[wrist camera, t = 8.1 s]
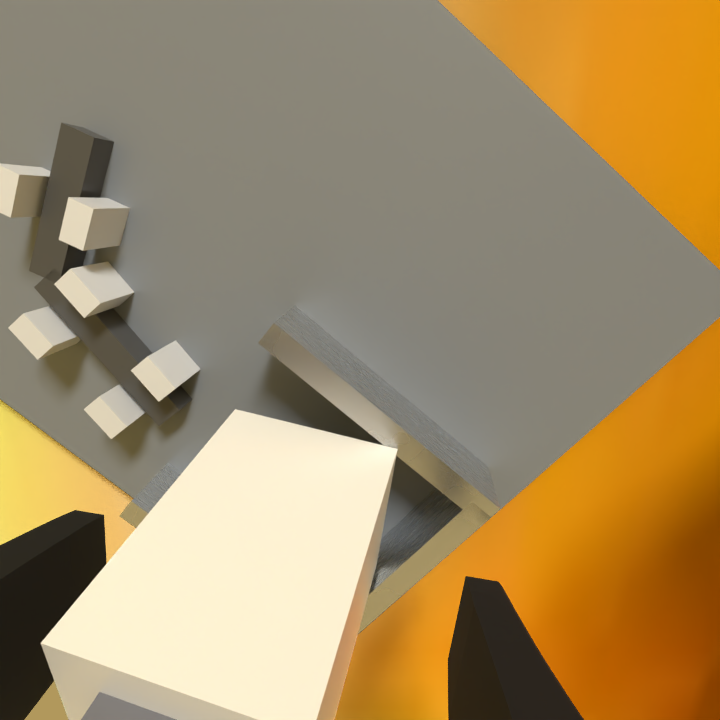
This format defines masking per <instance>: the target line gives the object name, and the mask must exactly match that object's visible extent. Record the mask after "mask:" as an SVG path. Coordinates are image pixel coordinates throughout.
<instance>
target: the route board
mask: <svg viewBox="0 0 720 720" xmlns="http://www.w3.org/2000/svg"><path fill="white" fill-rule="evenodd" d="M294 305H295V306H296V307H297V308H299V309H300V310H301V311H302V312H303V313H305V314H306V315H307V316H308V317H309V318H311V319H312V320H313V321H314V322H315V323H317V324H318V325H319V326H320V327H321V328H323V329H324V330H325V331H326V332H327V333H329V334H330V335H331V336H332V337H333V338H335V339H336V340H337V341H338V342H339V343H341V344H342V345H343V346H344V347H345V348H347V349H348V350H349V351H350V352H351V353H353V354H354V355H355V356H356V357H357V358H359V359H360V360H361V361H362V362H363V363H365V364H366V365H367V366H368V367H369V368H371V369H372V370H373V371H374V372H375V373H377V374H378V375H379V376H380V377H381V378H383V379H384V380H385V381H386V382H387V383H389V384H390V385H391V386H392V387H393V388H395V389H396V390H397V391H398V392H399V393H401V394H402V395H403V396H404V397H405V398H407V399H408V400H409V401H410V402H411V403H413V404H414V405H415V406H416V407H417V408H419V409H420V410H421V411H422V412H423V413H425V414H426V415H427V416H428V417H429V418H431V419H432V420H433V421H434V422H436V423H437V424H438V425H439V426H440V427H442V428H443V429H444V430H445V431H446V432H448V433H449V434H450V435H451V436H452V437H454V438H455V439H456V440H457V441H458V442H460V443H461V444H462V445H463V446H464V447H466V448H467V449H468V450H469V451H470V452H472V453H473V454H474V455H475V456H476V457H478V458H479V459H480V460H481V461H482V462H484V463H485V464H486V465H487V466H488V467H489V470H490V474H491V478H492V481H493V485H494V488H495V492H496V496H497V499H498V503H499V507H500V509H501V508H503V507H504V506H505V505H506V504H507V503H508V502H509V501H511V500H512V499H513V498H514V497H515V496H516V495H517V494H518V493H520V492H521V491H522V490H523V489H524V488H525V487H526V486H528V485H529V484H530V483H531V482H532V481H533V480H534V479H536V478H537V477H538V476H539V475H540V474H541V473H542V472H544V471H545V470H546V469H547V468H548V467H549V466H550V465H552V464H553V463H554V462H555V461H556V460H557V459H558V458H560V457H561V456H562V455H563V454H564V453H565V452H566V451H567V450H569V449H570V448H571V447H572V446H573V445H574V444H575V443H577V442H578V441H579V440H580V439H581V438H582V437H583V436H585V435H586V434H587V433H588V432H589V431H590V430H591V429H593V428H594V427H595V426H596V425H597V424H598V423H599V422H601V421H602V420H603V419H604V418H605V417H606V416H607V415H609V414H610V413H611V412H612V411H613V410H614V409H615V408H616V407H618V406H619V405H620V404H621V403H622V402H623V401H624V400H626V399H627V398H628V397H629V396H630V395H631V394H632V393H634V392H635V391H636V390H637V389H638V388H639V387H640V386H642V385H643V384H644V383H645V382H646V381H647V380H648V379H650V378H651V377H652V376H653V375H654V374H655V373H656V372H658V371H659V370H660V369H661V368H662V367H663V366H664V365H665V364H667V363H668V362H669V361H670V360H671V359H672V358H673V357H675V356H676V355H677V354H678V353H679V352H680V351H681V350H683V349H684V348H685V347H686V346H687V345H688V344H689V343H691V342H692V341H693V340H694V339H695V338H696V337H697V336H699V335H700V334H701V333H702V332H703V331H704V330H705V329H707V328H708V327H709V326H710V325H711V324H712V323H713V322H714V321H716V320H717V319H718V318H719V317H720V270H719V269H718V268H717V267H716V266H715V265H713V264H712V263H711V262H710V261H709V260H708V259H707V258H706V257H705V256H704V255H703V254H702V253H701V252H700V251H699V250H698V249H697V248H696V247H695V246H694V245H693V244H692V243H691V242H689V241H688V240H687V239H686V238H685V237H684V236H683V235H682V234H681V233H680V232H679V231H678V230H677V229H676V228H675V227H674V226H673V225H672V224H671V223H670V222H669V221H668V220H666V219H665V218H664V217H663V216H662V215H661V214H660V213H659V212H658V211H657V210H656V209H655V208H654V207H653V206H652V205H651V204H650V203H649V202H648V201H647V200H646V199H645V198H644V197H642V196H641V195H640V194H639V193H638V192H637V191H636V190H635V189H634V188H633V187H632V186H631V185H630V184H629V183H628V182H627V181H626V180H625V179H624V178H623V177H622V176H621V175H619V174H618V173H617V172H616V171H615V170H614V169H613V168H612V167H611V166H610V165H609V164H608V163H607V162H606V161H605V160H604V159H603V158H602V157H601V156H600V155H599V154H598V153H597V152H595V151H594V150H593V149H592V148H591V147H590V146H589V145H588V144H587V143H586V142H585V141H584V140H583V139H582V138H581V137H580V136H579V135H578V134H577V133H576V132H575V131H574V130H572V129H571V128H570V127H569V126H568V125H567V124H566V123H565V122H564V121H563V120H562V119H561V118H560V117H559V116H558V115H557V114H556V113H555V112H554V111H553V110H552V109H551V108H550V107H548V106H547V105H546V104H545V103H544V102H543V101H542V100H541V99H540V98H539V97H538V96H537V95H536V94H535V93H534V92H533V91H532V90H531V89H530V88H529V87H528V86H527V85H525V84H524V83H523V82H522V81H521V80H520V79H519V78H518V77H517V76H516V75H515V74H514V73H513V72H512V71H511V70H510V69H509V68H508V67H507V66H506V65H505V64H504V63H503V62H501V61H500V60H499V59H498V58H497V57H496V56H495V55H494V54H493V53H492V52H491V51H490V50H489V49H488V48H487V47H486V46H485V45H484V44H483V43H482V42H481V41H480V40H478V39H477V38H476V37H475V36H474V35H473V34H472V33H471V32H470V31H469V30H468V29H467V28H466V27H465V26H464V25H463V24H462V23H461V22H460V21H459V20H458V19H457V18H455V17H454V16H453V15H452V14H451V13H450V12H449V11H448V10H447V9H446V8H445V7H444V6H443V5H442V4H441V3H440V2H439V1H438V0H0V399H1V400H2V401H3V402H5V403H6V404H7V405H9V406H10V407H11V408H13V409H14V410H15V411H17V412H18V413H20V414H21V415H22V416H24V417H25V418H26V419H28V420H29V421H30V422H32V423H33V424H34V425H36V426H37V427H38V428H40V429H41V430H42V431H44V432H45V433H46V434H48V435H49V436H50V437H52V438H53V439H54V440H56V441H57V442H59V443H60V444H61V445H63V446H64V447H65V448H67V449H68V450H69V451H71V452H72V453H73V454H75V455H76V456H77V457H79V458H80V459H81V460H83V461H84V462H85V463H87V464H88V465H89V466H91V467H92V468H93V469H95V470H96V471H98V472H99V473H100V474H102V475H103V476H104V477H106V478H107V479H108V480H110V481H111V482H112V483H114V484H115V485H116V486H118V487H119V488H120V489H122V490H123V491H124V492H126V493H127V494H128V495H130V496H131V497H132V498H135V497H136V496H137V495H138V494H139V493H140V492H141V490H142V489H143V488H144V487H145V486H146V485H147V484H148V483H149V482H150V481H151V480H152V479H153V478H154V477H155V476H156V475H157V474H158V473H159V472H160V471H161V470H162V468H163V467H164V466H165V465H166V464H167V463H169V464H171V465H172V466H173V467H175V468H176V469H177V470H178V471H180V472H181V473H183V471H184V470H185V469H186V468H187V466H188V465H189V464H190V463H191V462H192V460H193V459H194V458H195V457H196V456H197V454H198V453H199V452H200V451H201V450H202V448H203V447H204V446H205V445H206V444H207V442H208V441H209V440H210V439H211V438H212V436H213V435H214V434H215V433H216V432H217V430H218V429H219V428H220V427H221V426H222V424H223V423H224V422H225V421H226V420H227V418H228V417H229V416H230V415H231V414H232V412H233V411H234V410H235V409H237V410H241V411H245V412H249V413H253V414H257V415H261V416H265V417H269V418H274V419H278V420H282V421H286V422H290V423H294V424H298V425H302V426H306V427H310V428H314V429H318V430H322V431H326V432H330V433H334V434H339V435H343V436H347V437H351V438H355V439H359V440H363V441H367V442H371V443H375V444H379V445H383V444H382V443H380V442H379V441H378V440H377V439H375V438H374V437H373V436H372V435H370V434H369V433H368V432H367V431H366V430H364V429H363V428H362V427H361V426H359V425H358V424H357V423H356V422H354V421H353V420H352V419H351V418H350V417H348V416H347V415H346V414H345V413H343V412H342V411H341V410H340V409H338V408H337V407H336V406H335V405H334V404H332V403H331V402H330V401H329V400H327V399H326V398H325V397H324V396H322V395H321V394H320V393H319V392H318V391H316V390H315V389H314V388H313V387H311V386H310V385H309V384H308V383H306V382H305V381H304V380H303V379H302V378H300V377H299V376H298V375H297V374H295V373H294V372H293V371H292V370H291V369H289V368H288V367H287V366H286V365H284V364H283V363H282V362H281V361H279V360H278V359H277V358H276V357H275V356H273V355H272V354H271V353H270V352H268V351H267V350H266V349H265V348H263V347H262V346H261V345H260V344H259V343H258V342H259V341H260V340H261V338H262V337H263V336H264V335H265V333H266V332H267V331H268V330H269V328H270V327H271V326H272V325H273V323H274V322H276V321H277V320H278V319H279V318H280V317H281V316H283V315H284V314H285V313H286V312H287V311H289V310H290V309H291V308H292V307H293V306H294ZM383 446H384V445H383ZM434 488H435V487H434V486H433V485H432V484H431V483H429V482H428V481H427V480H426V479H425V478H423V477H422V476H421V475H420V474H418V473H417V472H416V471H415V470H413V469H412V468H411V467H410V466H409V465H407V464H406V463H405V462H404V461H402V460H401V459H400V458H399V457H398V456H396V461H395V466H394V472H393V477H392V483H391V488H390V494H389V499H388V505H387V510H386V516H385V521H384V527H383V532H382V537H383V536H384V535H385V534H387V533H388V532H389V531H390V530H391V529H392V528H393V527H394V526H395V525H396V524H397V523H398V522H399V521H400V520H401V519H402V518H404V517H405V516H406V515H407V514H408V513H409V512H410V511H411V510H412V509H413V508H414V507H415V506H416V505H417V504H418V503H419V502H420V501H422V500H423V499H424V498H425V497H426V496H427V495H428V494H429V493H430V492H431V491H432V490H433V489H434ZM498 511H499V510H498ZM498 511H497V512H498ZM497 512H496V513H497ZM496 513H495V514H496ZM495 514H494V515H495ZM489 519H490V518H489ZM489 519H488V520H489ZM488 520H487V521H488ZM487 521H486V522H487ZM481 526H482V525H481ZM481 526H480V527H481ZM480 527H479V528H480ZM479 528H478V529H479ZM473 533H474V532H473ZM473 533H472V534H473ZM472 534H471V535H472ZM471 535H470V536H471ZM465 540H466V539H465ZM465 540H464V541H465ZM464 541H463V542H464ZM463 542H462V543H463ZM462 543H461V544H462ZM457 547H458V546H457ZM457 547H456V548H457ZM456 548H455V549H456ZM455 549H454V550H455ZM454 550H453V551H454ZM448 555H449V554H448ZM448 555H447V556H448ZM447 556H446V557H447ZM446 557H445V558H446ZM440 562H441V561H440ZM440 562H439V563H440ZM439 563H438V564H439ZM438 564H437V565H438ZM432 569H433V568H432ZM432 569H431V570H432ZM431 570H430V571H431ZM430 571H429V572H430ZM424 576H425V575H424ZM424 576H423V577H424ZM423 577H422V578H423ZM422 578H421V579H422ZM416 583H417V582H416ZM416 583H415V584H416ZM415 584H414V585H415ZM414 585H413V586H414ZM413 586H412V587H413ZM407 591H408V590H407ZM407 591H406V592H407ZM406 592H405V593H406ZM405 593H404V594H405ZM399 598H400V597H399ZM399 598H398V599H399ZM398 599H397V600H398ZM397 600H396V601H397ZM391 605H392V604H391ZM391 605H390V606H391ZM390 606H389V607H390ZM389 607H388V608H389ZM383 612H384V611H383ZM383 612H382V613H383ZM382 613H381V614H382ZM381 614H380V615H381ZM375 619H376V618H375ZM375 619H374V620H375ZM374 620H373V621H374ZM373 621H372V622H373ZM366 627H367V626H366ZM366 627H365V628H366ZM365 628H364V629H365ZM364 629H363V630H364ZM358 634H359V633H358Z"/></svg>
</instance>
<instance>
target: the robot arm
mask: <svg viewBox="0 0 720 720" xmlns="http://www.w3.org/2000/svg"><path fill="white" fill-rule="evenodd" d="M105 565H106V546H105V527H104V515H101V514H95V513H89V512H83V511H77V510H74V511H72V512H70V513H67V514H65V515H63V516H60V517H58V518H56V519H54V520H52V521H50V522H47V523H45V524H43V525H41V526H39V527H37V528H35V529H33V530H31V531H29V532H27V533H25V534H23V535H21V536H18V537H16V538H14V539H12V540H10V541H8V542H6V543H4V544H2V545H0V720H24V719H25V718H26V717H27V715H28V714H29V713H30V711H31V710H32V709H33V707H34V706H35V705H36V704H37V702H38V701H39V700H40V698H41V697H42V696H43V694H44V693H45V692H46V690H47V689H48V688H49V687H50V685H51V684H52V683H53V681H54V679H53V676H52V673H51V670H50V668H49V665H48V662H47V659H46V657H45V654H44V651H43V648H42V646H41V642H42V641H43V640H44V639H45V637H46V636H47V635H48V634H49V633H50V631H51V630H52V629H53V628H54V627H55V625H56V624H57V623H58V622H59V620H60V619H61V618H62V617H63V616H64V614H65V613H66V612H67V611H68V610H69V608H70V607H71V606H72V605H73V604H74V602H75V601H76V600H77V599H78V598H79V596H80V595H81V594H82V593H83V592H84V590H85V589H86V588H87V587H88V586H89V584H90V583H91V582H92V581H93V580H94V578H95V577H96V576H97V575H98V574H99V572H100V571H101V570H102V569H103V568H104V566H105ZM448 713H449V720H584V719H583V718H582V716H581V715H580V713H579V712H578V710H577V709H576V707H575V706H574V704H573V703H572V701H571V700H570V698H569V697H568V695H567V694H566V692H565V691H564V689H563V688H562V686H561V685H560V683H559V681H558V680H557V678H556V677H555V675H554V674H553V672H552V671H551V669H550V667H549V666H548V664H547V663H546V661H545V660H544V658H543V656H542V655H541V653H540V651H539V650H538V648H537V646H536V645H535V643H534V641H533V640H532V638H531V636H530V635H529V633H528V631H527V630H526V628H525V626H524V624H523V623H522V621H521V619H520V618H519V616H518V614H517V612H516V610H515V609H514V607H513V605H512V603H511V602H510V600H509V598H508V596H507V594H506V593H505V591H504V589H503V587H502V586H501V585H500V583H499V582H497V581H491V580H485V579H480V578H474V577H468V576H466V578H465V583H464V587H463V592H462V597H461V601H460V606H459V611H458V615H457V620H456V625H455V629H454V634H453V639H452V643H451V648H450V653H449V657H448Z"/></svg>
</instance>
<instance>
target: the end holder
mask: <svg viewBox="0 0 720 720" xmlns="http://www.w3.org/2000/svg"><path fill="white" fill-rule="evenodd" d="M258 343H259V344H260V345H261V346H262V347H263V348H265V349H266V350H267V351H268V352H270V353H271V354H272V355H273V356H275V357H276V358H277V359H278V360H279V361H281V362H282V363H283V364H284V365H286V366H287V367H288V368H289V369H291V370H292V371H293V372H294V373H295V374H297V375H298V376H299V377H300V378H302V379H303V380H304V381H305V382H306V383H308V384H309V385H310V386H311V387H313V388H314V389H315V390H316V391H318V392H319V393H320V394H321V395H322V396H324V397H325V398H326V399H327V400H329V401H330V402H331V403H332V404H334V405H335V406H336V407H337V408H338V409H340V410H341V411H342V412H343V413H345V414H346V415H347V416H348V417H350V418H351V419H352V420H353V421H354V422H356V423H357V424H358V425H359V426H361V427H362V428H363V429H364V430H366V431H367V432H368V433H369V434H370V435H372V436H373V437H374V438H375V439H377V440H378V441H379V442H380V443H382V444H383V445H384V446H387V447H391V448H395V449H398V450H397V455H396V456H398V457H399V458H400V459H401V460H402V461H404V462H405V463H406V464H407V465H409V466H410V467H411V468H412V469H413V470H415V471H416V472H417V473H418V474H420V475H421V476H422V477H423V478H425V479H426V480H427V481H428V482H429V483H431V484H432V485H433V486H434V487H435V488H434V489H433V490H432V491H431V492H430V493H429V494H428V495H427V496H426V497H425V498H424V499H423V500H422V501H420V502H419V503H418V504H417V505H416V506H415V507H414V508H413V509H412V510H411V511H410V512H409V513H408V514H407V515H406V516H405V517H404V518H402V519H401V520H400V521H399V522H398V523H397V524H396V525H395V526H394V527H393V528H392V529H391V530H390V531H389V532H388V533H387V534H385V535H384V536H383V537H382V538H381V543H380V549H379V554H378V560H377V565H376V569H375V573H374V576H373V580H372V584H371V587H370V591H369V595H368V598H367V602H366V606H365V609H364V613H363V617H362V620H361V624H360V628H359V631H358V633H360V632H361V631H362V630H363V629H364V628H365V627H366V626H368V625H369V624H370V623H371V622H372V621H373V620H374V619H375V618H377V617H378V616H379V615H380V614H381V613H382V612H383V611H385V610H386V609H387V608H388V607H389V606H390V605H391V604H393V603H394V602H395V601H396V600H397V599H398V598H399V597H401V596H402V595H403V594H404V593H405V592H406V591H407V590H409V589H410V588H411V587H412V586H413V585H414V584H415V583H416V582H418V581H419V580H420V579H421V578H422V577H423V576H424V575H426V574H427V573H428V572H429V571H430V570H431V569H432V568H434V567H435V566H436V565H437V564H438V563H439V562H440V561H442V560H443V559H444V558H445V557H446V556H447V555H448V554H450V553H451V552H452V551H453V550H454V549H455V548H456V547H457V546H459V545H460V544H461V543H462V542H463V541H464V540H465V539H467V538H468V537H469V536H470V535H471V534H472V533H473V532H475V531H476V530H477V529H478V528H479V527H480V526H481V525H483V524H484V523H485V522H486V521H487V520H488V519H489V518H491V517H492V516H493V515H494V514H495V513H496V512H497V511H498V510H500V507H499V503H498V499H497V496H496V492H495V488H494V485H493V481H492V478H491V474H490V470H489V467H488V466H487V465H486V464H485V463H484V462H482V461H481V460H480V459H479V458H478V457H476V456H475V455H474V454H473V453H472V452H470V451H469V450H468V449H467V448H466V447H464V446H463V445H462V444H461V443H460V442H458V441H457V440H456V439H455V438H454V437H452V436H451V435H450V434H449V433H448V432H446V431H445V430H444V429H443V428H442V427H440V426H439V425H438V424H437V423H436V422H434V421H433V420H432V419H431V418H429V417H428V416H427V415H426V414H425V413H423V412H422V411H421V410H420V409H419V408H417V407H416V406H415V405H414V404H413V403H411V402H410V401H409V400H408V399H407V398H405V397H404V396H403V395H402V394H401V393H399V392H398V391H397V390H396V389H395V388H393V387H392V386H391V385H390V384H389V383H387V382H386V381H385V380H384V379H383V378H381V377H380V376H379V375H378V374H377V373H375V372H374V371H373V370H372V369H371V368H369V367H368V366H367V365H366V364H365V363H363V362H362V361H361V360H360V359H359V358H357V357H356V356H355V355H354V354H353V353H351V352H350V351H349V350H348V349H347V348H345V347H344V346H343V345H342V344H341V343H339V342H338V341H337V340H336V339H335V338H333V337H332V336H331V335H330V334H329V333H327V332H326V331H325V330H324V329H323V328H321V327H320V326H319V325H318V324H317V323H315V322H314V321H313V320H312V319H311V318H309V317H308V316H307V315H306V314H305V313H303V312H302V311H301V310H300V309H299V308H297V307H296V306H295V305H294V306H293V307H292V308H291V309H290V310H289V311H287V312H286V313H285V314H284V315H283V316H281V317H280V318H279V319H278V320H277V321H276V322H274V323H273V325H272V326H271V327H270V328H269V330H268V331H267V332H266V333H265V335H264V336H263V337H262V338H261V340H260V341H259V342H258ZM181 474H182V473H181V472H180V471H178V470H177V469H176V468H175V467H173V466H172V465H171V464H169V463H167V464H166V465H165V466H164V467H163V468H162V470H161V471H160V472H159V473H158V474H157V475H156V476H155V477H154V478H153V479H152V480H151V481H150V482H149V483H148V484H147V485H146V486H145V487H144V488H143V489H142V490H141V492H140V493H139V494H138V495H137V496H136V497H135V498H134V499H133V500H132V501H131V502H130V503H129V505H128V506H127V507H126V508H125V510H124V511H123V512H122V513H121V515H120V517H121V518H123V519H124V520H126V521H127V522H128V523H130V524H131V525H132V526H134V527H135V528H137V527H138V525H139V524H140V523H141V522H142V521H143V519H144V518H145V517H146V516H147V515H148V513H149V512H150V511H151V510H152V509H153V507H154V506H155V505H156V504H157V503H158V501H159V500H160V499H161V498H162V497H163V495H164V494H165V493H166V492H167V491H168V489H169V488H170V487H171V486H172V485H173V483H174V482H175V481H176V480H177V479H178V477H179V476H180V475H181Z"/></svg>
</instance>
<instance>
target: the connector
mask: <svg viewBox="0 0 720 720" xmlns="http://www.w3.org/2000/svg"><path fill="white" fill-rule="evenodd" d="M397 450H398V449H395V448H391V447H387V446H383V445H379V444H375V443H371V442H367V441H363V440H359V439H355V438H351V437H347V436H343V435H339V434H334V433H330V432H326V431H322V430H318V429H314V428H310V427H306V426H302V425H298V424H294V423H290V422H286V421H282V420H278V419H274V418H269V417H265V416H261V415H257V414H253V413H249V412H245V411H241V410H237V409H235V410H234V411H233V412H232V414H231V415H230V416H229V417H228V418H227V420H226V421H225V422H224V423H223V424H222V426H221V427H220V428H219V429H218V430H217V432H216V433H215V434H214V435H213V436H212V438H211V439H210V440H209V441H208V442H207V444H206V445H205V446H204V447H203V448H202V450H201V451H200V452H199V453H198V454H197V456H196V457H195V458H194V459H193V460H192V462H191V463H190V464H189V465H188V466H187V468H186V469H185V470H184V471H183V473H182V474H181V475H180V476H179V477H178V479H177V480H176V481H175V482H174V483H173V485H172V486H171V487H170V488H169V489H168V491H167V492H166V493H165V494H164V495H163V497H162V498H161V499H160V500H159V501H158V503H157V504H156V505H155V506H154V507H153V509H152V510H151V511H150V512H149V513H148V515H147V516H146V517H145V518H144V519H143V521H142V522H141V523H140V524H139V525H138V527H137V528H136V529H135V530H134V531H133V533H132V534H131V535H130V536H129V537H128V539H127V540H126V541H125V542H124V543H123V545H122V546H121V547H120V548H119V550H118V551H117V552H116V553H115V554H114V556H113V557H112V558H111V559H110V560H109V562H108V563H107V564H106V565H105V566H104V568H103V569H102V570H101V571H100V572H99V574H98V575H97V576H96V577H95V578H94V580H93V581H92V582H91V583H90V584H89V586H88V587H87V588H86V589H85V590H84V592H83V593H82V594H81V595H80V596H79V598H78V599H77V600H76V601H75V602H74V604H73V605H72V606H71V607H70V608H69V610H68V611H67V612H66V613H65V614H64V616H63V617H62V618H61V619H60V620H59V622H58V623H57V624H56V625H55V627H54V628H53V629H52V630H51V631H50V633H49V634H48V635H47V636H46V637H45V639H44V640H43V641H42V642H41V646H42V648H43V651H44V654H45V657H46V659H47V662H48V665H49V668H50V670H51V673H52V676H53V679H54V681H55V684H56V687H57V690H58V692H59V695H60V698H61V701H62V703H63V706H64V709H65V712H66V715H67V717H68V720H335V716H336V712H337V709H338V705H339V701H340V698H341V694H342V690H343V687H344V683H345V679H346V676H347V672H348V668H349V665H350V661H351V657H352V654H353V650H354V646H355V643H356V639H357V635H358V631H359V628H360V624H361V620H362V617H363V613H364V609H365V606H366V602H367V598H368V595H369V591H370V587H371V584H372V580H373V576H374V573H375V569H376V565H377V560H378V554H379V549H380V543H381V538H382V532H383V527H384V521H385V516H386V510H387V505H388V499H389V494H390V488H391V483H392V477H393V472H394V466H395V461H396V455H397Z"/></svg>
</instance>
